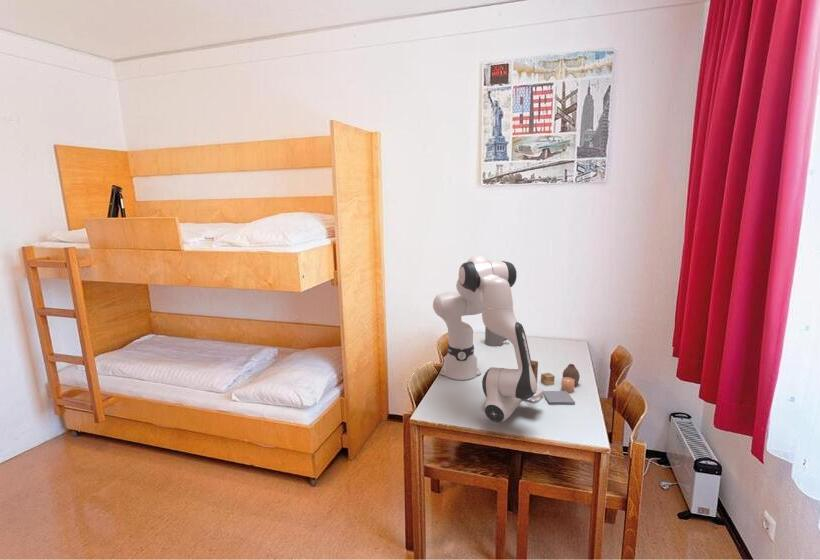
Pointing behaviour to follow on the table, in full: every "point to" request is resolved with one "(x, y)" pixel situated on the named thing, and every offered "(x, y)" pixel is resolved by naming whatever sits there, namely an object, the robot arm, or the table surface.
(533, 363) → the walnut block
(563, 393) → the grey pad
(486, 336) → the coffee mug
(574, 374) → the vase
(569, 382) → the peach rounded cylinder
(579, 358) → the table surface
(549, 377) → the oak cube
